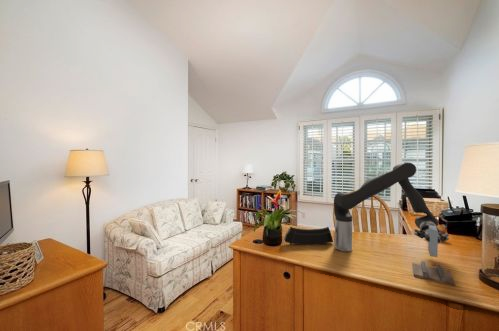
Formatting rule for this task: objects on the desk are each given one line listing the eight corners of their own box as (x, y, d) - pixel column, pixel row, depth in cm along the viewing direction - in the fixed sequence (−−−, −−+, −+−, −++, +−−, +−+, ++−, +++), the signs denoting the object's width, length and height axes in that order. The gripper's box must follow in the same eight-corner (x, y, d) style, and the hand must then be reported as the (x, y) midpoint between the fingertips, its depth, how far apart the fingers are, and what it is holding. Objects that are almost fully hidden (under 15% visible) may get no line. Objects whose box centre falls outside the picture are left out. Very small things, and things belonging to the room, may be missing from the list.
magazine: (334, 228, 141) (290, 215, 139) (337, 229, 138) (292, 217, 135) (327, 253, 141) (283, 241, 139) (329, 256, 138) (284, 243, 135)
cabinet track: (413, 276, 100) (413, 269, 100) (412, 264, 110) (412, 258, 110) (455, 286, 92) (455, 279, 92) (449, 272, 103) (449, 266, 102)
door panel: (430, 256, 98) (430, 229, 98) (428, 249, 105) (428, 225, 105) (437, 257, 97) (437, 230, 97) (435, 251, 104) (435, 225, 103)
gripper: (412, 220, 118) (414, 229, 103) (447, 224, 110) (454, 235, 95) (412, 234, 118) (414, 245, 104) (446, 239, 110) (453, 252, 96)
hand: (433, 240), depth 100 cm, fingers closed on door panel, 2 cm apart
